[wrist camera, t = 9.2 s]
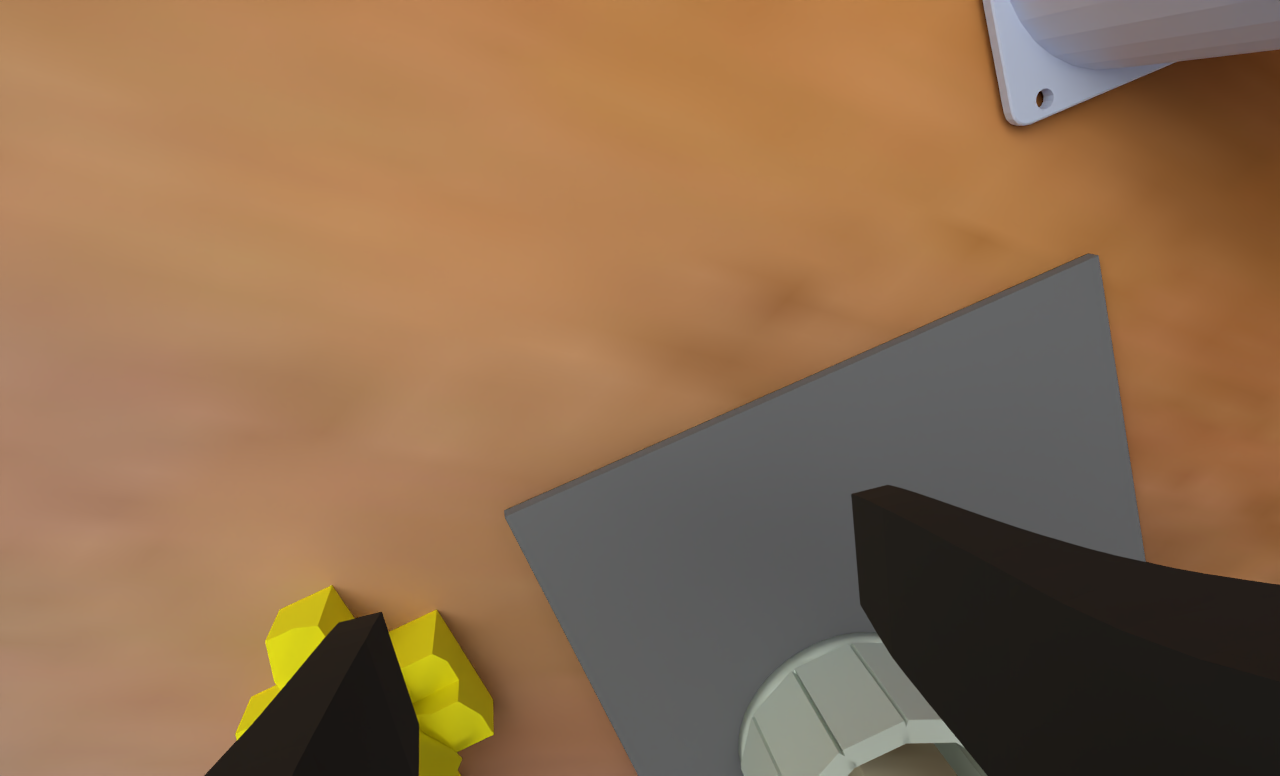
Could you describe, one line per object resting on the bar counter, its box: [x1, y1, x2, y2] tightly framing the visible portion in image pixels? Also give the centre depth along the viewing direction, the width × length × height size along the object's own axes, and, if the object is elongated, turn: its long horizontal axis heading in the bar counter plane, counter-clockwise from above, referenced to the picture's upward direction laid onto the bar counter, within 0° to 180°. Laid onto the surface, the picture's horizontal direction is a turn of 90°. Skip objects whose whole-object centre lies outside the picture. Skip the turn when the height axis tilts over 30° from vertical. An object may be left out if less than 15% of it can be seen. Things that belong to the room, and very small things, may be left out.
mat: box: [504, 254, 1146, 776], centre depth 25 cm, size 19×17×1 cm
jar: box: [738, 632, 987, 776], centre depth 24 cm, size 8×8×4 cm
